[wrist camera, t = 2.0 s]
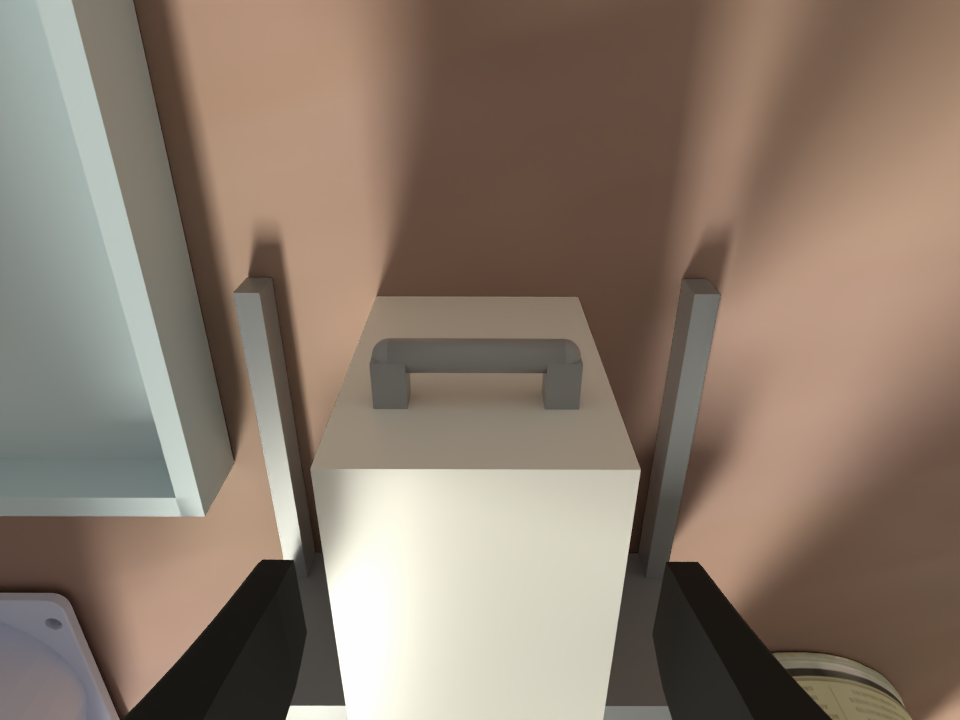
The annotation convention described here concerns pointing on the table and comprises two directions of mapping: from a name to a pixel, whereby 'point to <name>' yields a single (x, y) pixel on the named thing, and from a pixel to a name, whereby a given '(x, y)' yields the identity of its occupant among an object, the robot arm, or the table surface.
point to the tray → (96, 281)
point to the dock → (634, 670)
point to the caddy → (475, 512)
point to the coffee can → (844, 687)
